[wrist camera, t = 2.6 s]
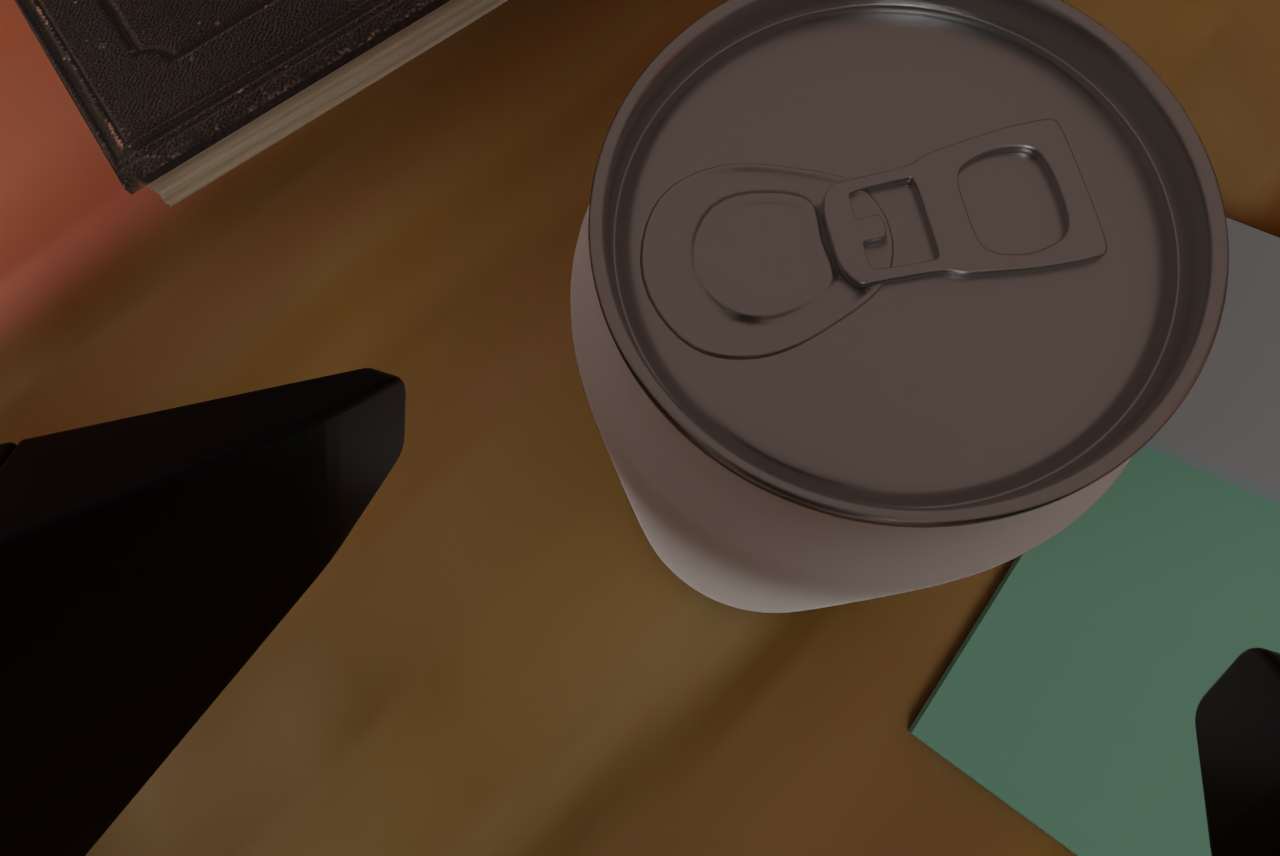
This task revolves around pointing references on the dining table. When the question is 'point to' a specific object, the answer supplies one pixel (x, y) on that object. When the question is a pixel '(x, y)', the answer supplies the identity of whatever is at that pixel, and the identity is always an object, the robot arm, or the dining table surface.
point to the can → (888, 289)
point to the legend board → (1237, 378)
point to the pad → (1113, 660)
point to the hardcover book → (223, 72)
